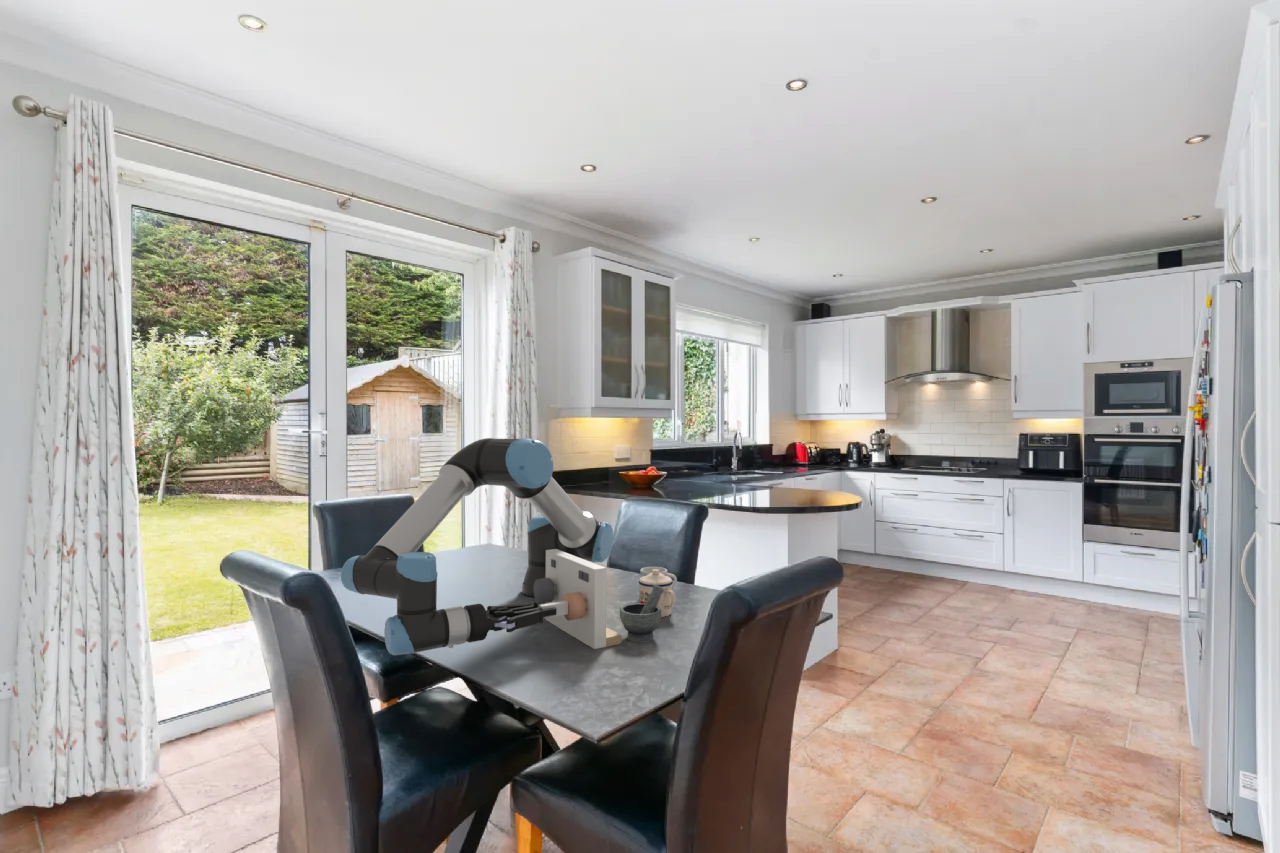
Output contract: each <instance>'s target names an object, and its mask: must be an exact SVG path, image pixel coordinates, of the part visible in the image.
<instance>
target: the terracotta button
mask: <svg viewBox="0 0 1280 853" xmlns="http://www.w3.org/2000/svg"><path fill="white" fill-rule="evenodd" d="M562 601H567V602H568V614H566V615H564V617H565V618H566V619H567V620H574V619H580V618H583V617H584V614H585V608H587V599H585V600H584V598H583V595H582V594H581V593H580V592H572V593H566V594H564V595H563V598H562Z"/></svg>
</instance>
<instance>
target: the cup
mask: <svg viewBox="0 0 1280 853" xmlns="http://www.w3.org/2000/svg"><path fill="white" fill-rule="evenodd" d="M654 569H658V570H659V573H661V574H663V575H664V576H667V577H670V578H671V579H672V580H673V584H672V591H673V590H674V589H675V588H676V587H677V585H678V578H677V576H676V575H675V574H673V573H670V572H668V569H667V568H664V567H662V566H661V567H660V566H646V567H642V568H640V570H639V572H640V578H641V577H644V576H647V575H648V574H650V573H652V570H654Z"/></svg>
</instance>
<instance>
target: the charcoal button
mask: <svg viewBox="0 0 1280 853" xmlns="http://www.w3.org/2000/svg"><path fill="white" fill-rule="evenodd" d="M533 591H534V597H533V598H534V599H535V600H534V601H536V602H538V605H542V604H546V603H548V602H552V601H553V599H554V595H555V593H557V585H554V584H553V582H552V580H551V579H550V578H542V579H536V580H535V582H534V587H533Z"/></svg>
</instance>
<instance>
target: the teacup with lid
mask: <svg viewBox="0 0 1280 853" xmlns="http://www.w3.org/2000/svg"><path fill="white" fill-rule="evenodd" d="M638 583H639V603H641V604H646V602H647V600H648V598H649V596H650V594H651V592H652V590H653V586H654V585H657V586H660V587H662V588H663V589H664V592H663V593H662V594H661V597H660V599H659V602H658V604H657V606H658V607H659V608H660V609H661V618H666V617H669V616H671V615H672V614H673V613H672V611H673V610H672V609H673V608H674V607H675V605H676V602H677V598H676V593H675V592H674V591H673V590H672V586H673V584H674V580H673V578H672V577H667V576H664V575H663V574H661V573H659V570H658V569H654V570H652V573H650V574H648V575H647V576H644V577H641V576H640V578H639V580H638ZM665 616H666V617H665Z"/></svg>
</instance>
